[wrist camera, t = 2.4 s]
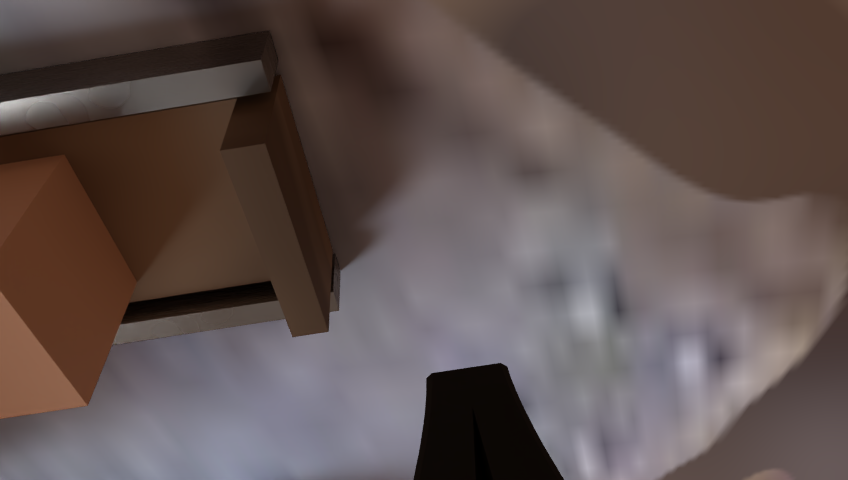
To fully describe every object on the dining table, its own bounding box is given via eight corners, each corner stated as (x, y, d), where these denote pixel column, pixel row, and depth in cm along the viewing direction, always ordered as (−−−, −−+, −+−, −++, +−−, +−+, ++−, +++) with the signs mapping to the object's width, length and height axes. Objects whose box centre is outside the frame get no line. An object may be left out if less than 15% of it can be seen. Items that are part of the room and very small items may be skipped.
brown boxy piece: (-155, 326, 21) (-232, 416, 18) (-313, 171, 17) (-441, 256, 14) (333, 250, 20) (328, 331, 18) (280, 74, 17) (265, 143, 14)
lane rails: (-71, 335, 22) (-101, 377, 20) (-269, 119, 17) (-327, 155, 15) (340, 271, 21) (338, 310, 20) (269, 30, 16) (260, 60, 15)
